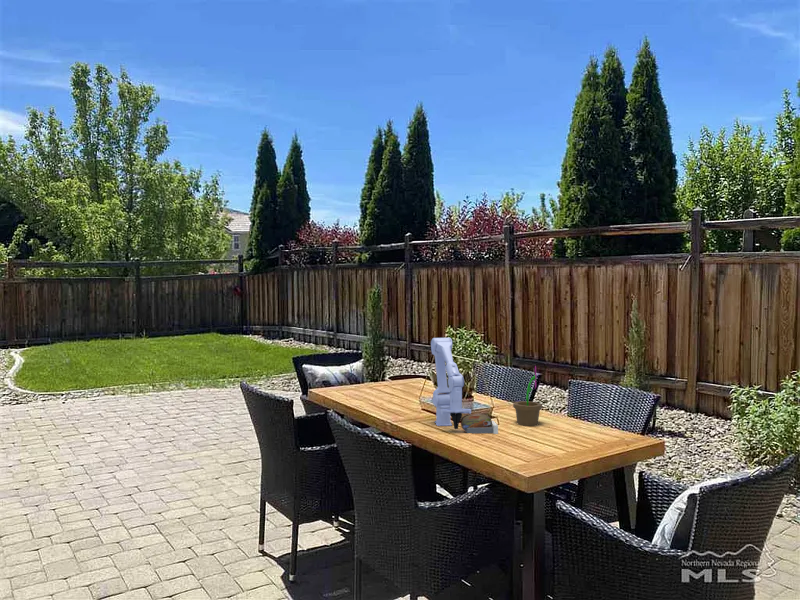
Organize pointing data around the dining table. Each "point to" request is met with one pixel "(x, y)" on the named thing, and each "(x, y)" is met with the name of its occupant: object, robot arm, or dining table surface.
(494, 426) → the bay
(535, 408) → the flowerpot
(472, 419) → the tin
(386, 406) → the dining table surface
